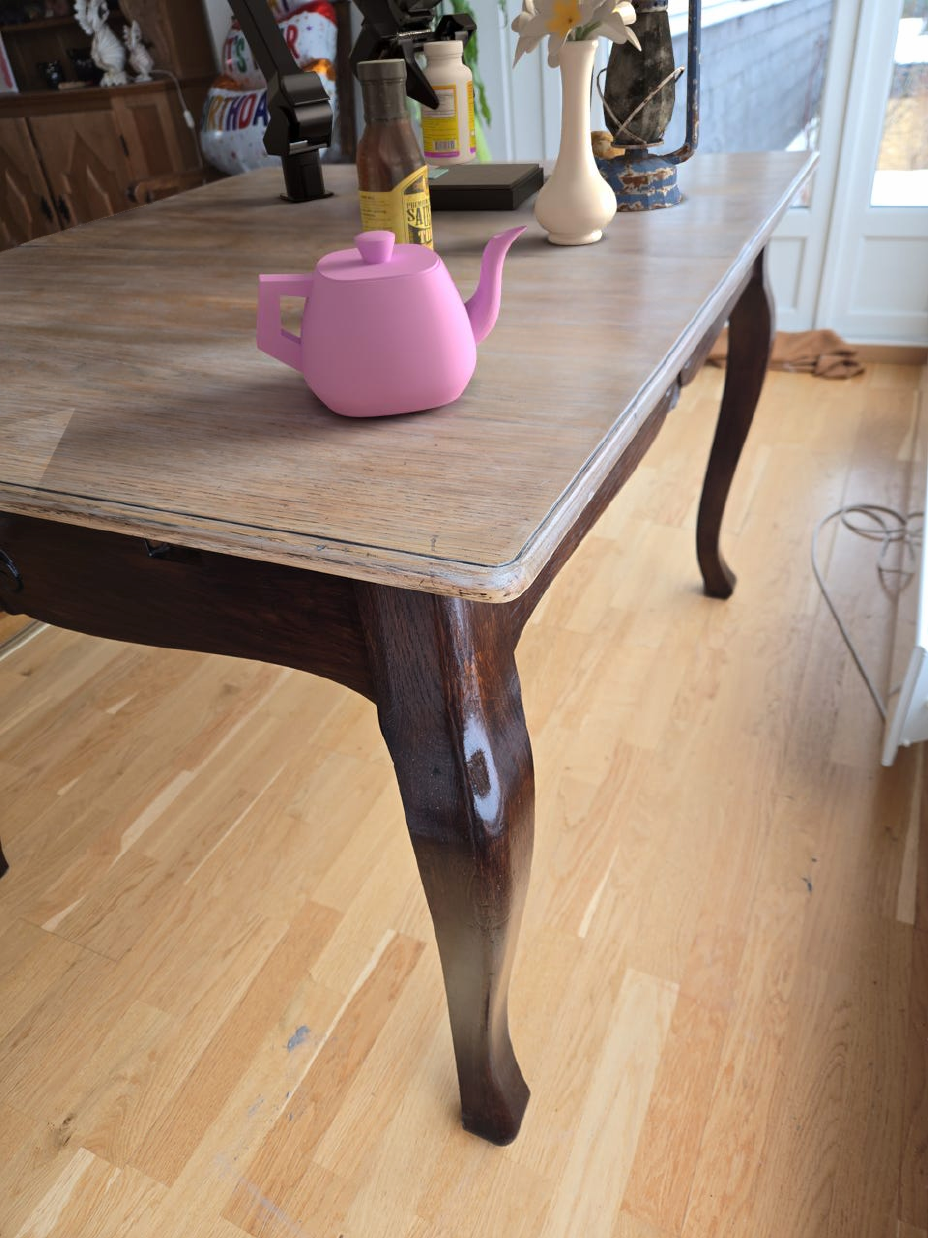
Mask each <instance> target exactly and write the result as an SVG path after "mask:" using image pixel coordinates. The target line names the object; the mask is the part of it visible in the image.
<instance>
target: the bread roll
mask: <svg viewBox="0 0 928 1238" xmlns="http://www.w3.org/2000/svg"><path fill="white" fill-rule="evenodd" d="M612 141H613V136H612V135H611V133H610V132H609V131H606V130H593V131H592V130H591V145H592V152H593V154H594V155H596V156H598V157H601V158H607V159H610V158H614V157H615V156H618V155H623V154H625V149H618V148H613V147H611V145H610V144H611V142H612Z"/></svg>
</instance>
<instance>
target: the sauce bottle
mask: <svg viewBox="0 0 928 1238" xmlns="http://www.w3.org/2000/svg"><path fill="white" fill-rule="evenodd" d="M357 73H358V80H359V81H358V80H357V81H358V83H359V85H360V88H361V96H362V107H363V120H364V123H365V126H364V129H363V133H362V135H361V138H360V140H359V141H358V143H357V144H358V145H357V150H356V154H355V157H356V158H355V165H356V172H357V179H358V187H357V192H358V200H359V208H360V216H361V226H362V233H364V232H370V231H389V232H392V233H394V234H395V241H394V244H408V243H409V244H419V245H423V246H426V247H428V248H430V249H432V250H433V251H434V240H433V228H432V213H431V210H430V200H429V188H428V174H427V173H428V163H426V161H425V157H424V153H423V151H422V149H421V146H420V144H419V142H418V139H417V137H416V134H415V131H414V129H413V125H412V124H411V121H410V113H409V111H408V100H407V96H406V87H405V81H406V78H407V73H406V65H405V60H404V59H388V60H373V61H365V62H359V63H357Z"/></svg>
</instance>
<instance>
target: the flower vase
mask: <svg viewBox="0 0 928 1238" xmlns="http://www.w3.org/2000/svg"><path fill="white" fill-rule="evenodd" d="M631 2H632V0H522V3H521V12H520V14H518V15H517V16H515V18H514V19H513V20H512V22H511V24H510V29H511V30H512V32H514V33H518V36H519V37H518V40H517V42H516V43H517V44H516V48H515V52H514V59H513V64H512V70H514V69H515V66H516V65H517V64H518V62H519V61H520V59H521V58H522V56H523V55H524V53H526V54H532V53H533V51H534V50H535V49H536V48H537V47H538V46H539V44H540V43H541V42H542V41H543V40H544V39H545V38H546V37H547V36H548V35H549V37H548V39H547V51H548V55H547V65H548V67H549V68H551V69H556V68H558V67H559V72H560V77H561V80H560V81H561V119H560V121H561V124H560V138H559V139H560V141H559V142H560V143H559V149H558V154H557V158H556V161H555V165H554V167H553V170H552V172H551V175H550V176H549V178H548V179H547V181H546V182H544V186H543V187H541V188H540V189H539V190H538V193H537V195H536V197H535V199H534V203H533V215H534V218H535V220H536V222H537V223H538V224H539V226H540V227H541V228H542V229H543V230H545V231H547V232H548V233H547V240H548V241H549V242H550V243H551V244H555V245H560V246H581V245H588V244H592V243H595V242H597V241H599V240H601V238H602V236H603V232H602V229H604V228H606V227H607V226H608V225H609V224H610V222H611V221H612V219H613V218H614V216H615V215H616V213H617V211H616V210H617V202H616V197H615V194H614V192H613V190H612V189H611V187H610V185H609V184H608V183H607V182H606V180H605V179H604V178H603V177H602V176H601V174H600V173H599V171H598V168H597V166H596V163H595V160H594V156H593V152H592V145H591V132H592V130H591V112H590V86H591V75H592V68H593V65H594V66H595V57H596V53H597V49H598V47H599V45H600V42H599V37H603V38H605V39H608V40H609V41H611V42H612V43H613V42H615V43H618V44H624V43H625V42H626V40H627V39H628V40H629V41H630V42H631V43H632V44H633V45H634V46H635V47H636V48H637V49H639V50H640V51H641V47H640V44H639V42H638V39H637V37H636V35H635V34H634V32H633V31H632V30H631V29H630V28H629V27H626V26H625V25H628V24H632V23H634V22H635V20H636V14H635V10H634V8H633V6H632V5H631ZM594 56H595V57H594Z"/></svg>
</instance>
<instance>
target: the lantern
mask: <svg viewBox="0 0 928 1238" xmlns="http://www.w3.org/2000/svg"><path fill="white" fill-rule="evenodd" d="M631 5H632V6H633V8H634V10H635V14H636V20H635V22H634V23H632V24H628V25H625V26H626V27H629V28H630V29H631V30H632V31H633V32H634V34H635V35H636V37H637V39H638V42H639V44H640V47H641V51H640V50H639V49H637V48H636V47H635V46H634V45H633V44H632V43H631V42H630V41H629V40H628V39H627V40H626V42H625V43H624V44H618V43H615V42H613V41H612V43H611V47H610V52H609V57H608V61H607V67H605V68H602V69H601V70H600V71H599V72H598V74H597V76H596V88H597V92H598V95H599V98H600V100H601V102H602V110H603V119H604V125H605V127H606V128H607V130H608V132H609V133H611V135H612V136H613V141H612V142H611V144H610V145H611V147H613V148H618V149H625V154H623V155H618V156H615V157H614V158H610V159H607V158H601V157H598V156H596V155H594V154H593V156H594V160H595V163H596V166H597V168H598V171H599V173H600V174H601V176H602V177H603V178H604V179H605V180H606V182H607V183H608V184H609V185H610V187H611V189H612V190H613V192H614V194H615V197H616V202H617V210H616V212H637V211H649V210H657V209H663V208H669V207H671V206H674V205H677V204H679V203H680V202H682V200H683V197H682V194H681V192H680V189H679V186H678V184H677V177H678V176H677V173H678V168H677V165H680V164H683V163H685V162H687V161H688V160H689V159H691V158H692V157H693V156H694V154H695V152H696V150H697V149H698V145H699V141H700V105H701V104H700V101H701V99H700V97H701V96H700V95H701V94H700V93H701V48H702V47H701V46H702V44H701V42H702V41H701V40H702V0H688V8H687V9H688V13H687V16H688V17H687V22H688V23H687V60H686V62H687V63H686V64H687V67H685V66H683V65H681V66H679V67H678V68H675V67H676V66H675V65H676V64H675V56H674V49H673V41H672V35H671V27H670V22H669V21H670V20H669V12H668V11H667V10H668V8H669V0H632V2H631ZM595 57H596V55H595V56H594V58H595ZM594 68H595V64H594V65H593V68H592V75H591V86H590V113H591V112H592V111H591V110H592V97H593V84H594V71H595V70H594ZM685 70H686V112H685V113H686V114H685V115H686V117H685V139H684V142H683V144H682V146H680V147H679V148H678V149H675V150H674V151H672V152H669V153H665V154H659V155H658V154H655V153H649V149H650V148H655V147H660V146H663V145H665V140H664V139H663V138H664V137H665V134H666V131H667V126H668V125H669V124H670V122H671V120H672V117H673V113H674V107H675V102H676V83H677V82H678V81H679V80H680V78H681V77H682V75H683V74H684V72H685ZM604 72H606V73H605V81H604V89H603V91H604V92H602V88H601V85H600V75H601V74H602V73H604ZM676 75H677V76H676Z"/></svg>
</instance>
